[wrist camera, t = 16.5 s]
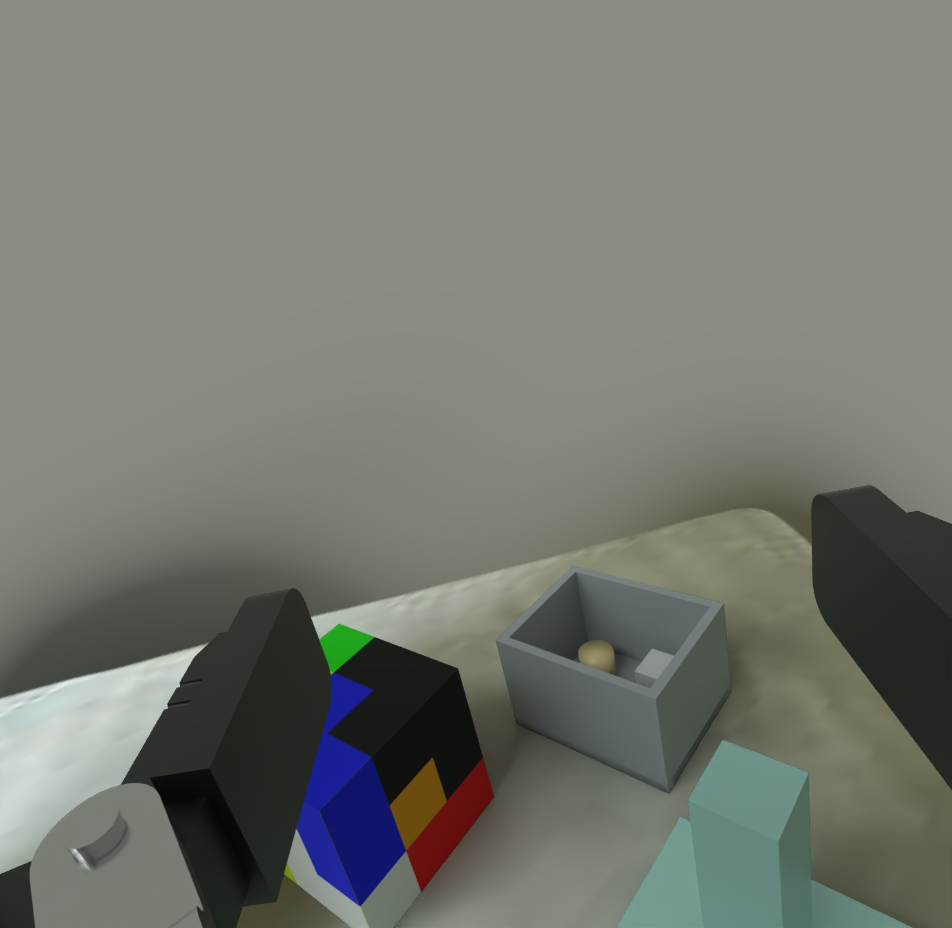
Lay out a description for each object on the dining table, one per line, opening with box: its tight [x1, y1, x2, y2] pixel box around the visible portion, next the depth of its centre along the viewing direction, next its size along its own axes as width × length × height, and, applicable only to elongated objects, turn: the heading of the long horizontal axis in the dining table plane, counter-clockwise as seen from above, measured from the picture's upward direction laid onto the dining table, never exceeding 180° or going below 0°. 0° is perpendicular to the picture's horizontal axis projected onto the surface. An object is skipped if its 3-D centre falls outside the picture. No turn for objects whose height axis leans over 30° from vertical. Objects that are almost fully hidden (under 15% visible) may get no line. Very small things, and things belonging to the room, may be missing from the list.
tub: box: [496, 566, 731, 793], centre depth 44 cm, size 11×9×7 cm
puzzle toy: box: [284, 624, 494, 928], centre depth 39 cm, size 10×10×10 cm
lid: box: [617, 740, 912, 928], centre depth 27 cm, size 12×10×12 cm
